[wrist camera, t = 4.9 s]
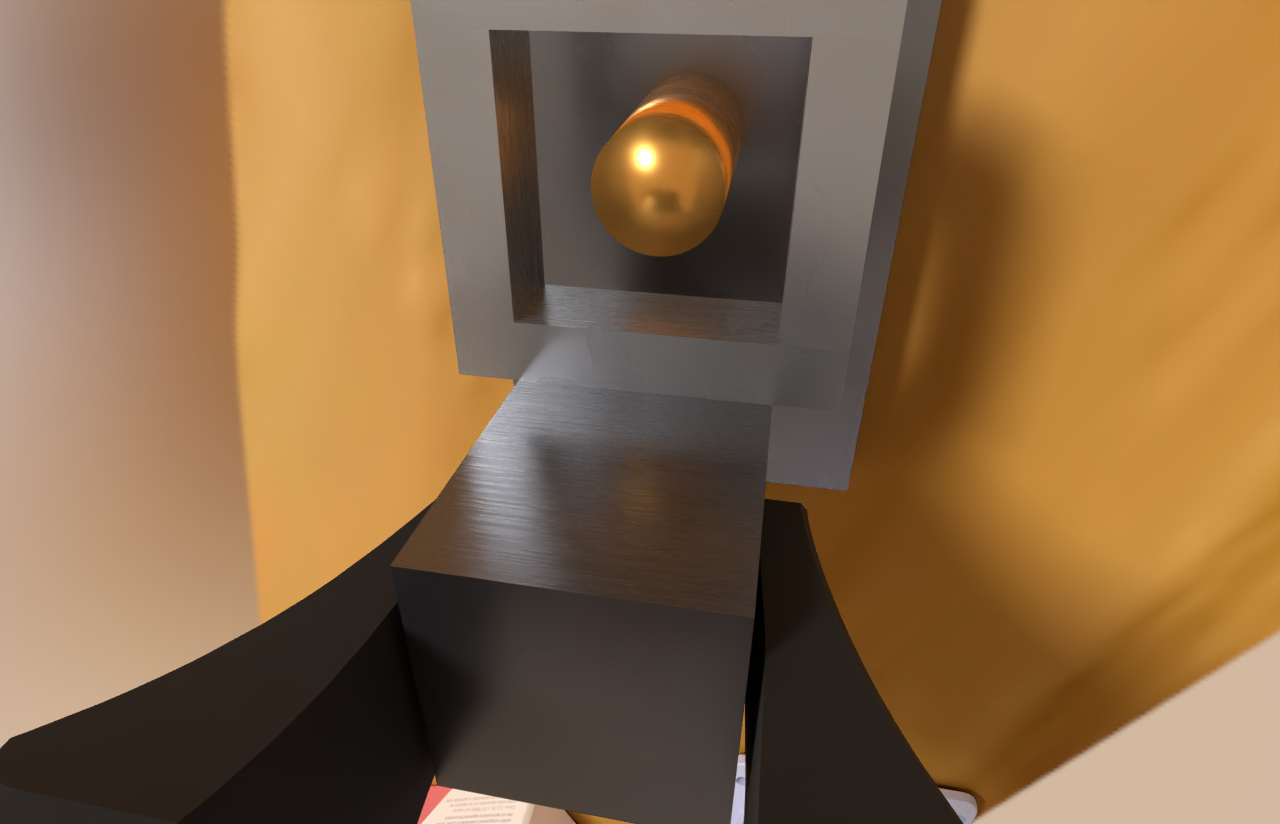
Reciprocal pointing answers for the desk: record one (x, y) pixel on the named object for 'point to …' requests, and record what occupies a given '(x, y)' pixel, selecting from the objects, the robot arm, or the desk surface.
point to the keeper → (709, 186)
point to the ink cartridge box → (484, 809)
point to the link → (618, 429)
